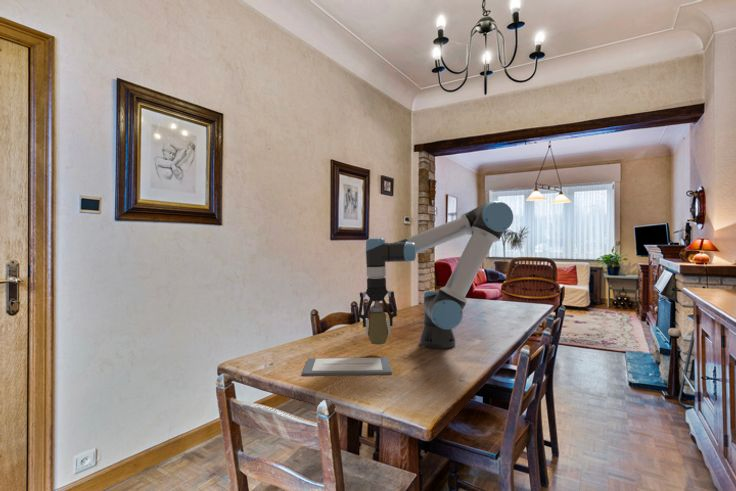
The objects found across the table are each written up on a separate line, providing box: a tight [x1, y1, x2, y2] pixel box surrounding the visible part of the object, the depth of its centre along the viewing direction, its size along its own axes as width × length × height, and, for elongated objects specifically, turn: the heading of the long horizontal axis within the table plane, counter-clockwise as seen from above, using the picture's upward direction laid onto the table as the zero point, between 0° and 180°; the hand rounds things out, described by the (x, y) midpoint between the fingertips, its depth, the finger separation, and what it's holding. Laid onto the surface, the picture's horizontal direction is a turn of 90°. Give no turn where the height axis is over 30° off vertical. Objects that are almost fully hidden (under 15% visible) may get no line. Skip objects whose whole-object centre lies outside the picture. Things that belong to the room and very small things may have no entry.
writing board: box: [301, 356, 393, 377], centre depth 137 cm, size 30×16×1 cm, turn 92°
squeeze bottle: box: [367, 301, 389, 345], centre depth 152 cm, size 8×8×18 cm
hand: (378, 334), depth 152 cm, fingers closed on squeeze bottle, 8 cm apart
